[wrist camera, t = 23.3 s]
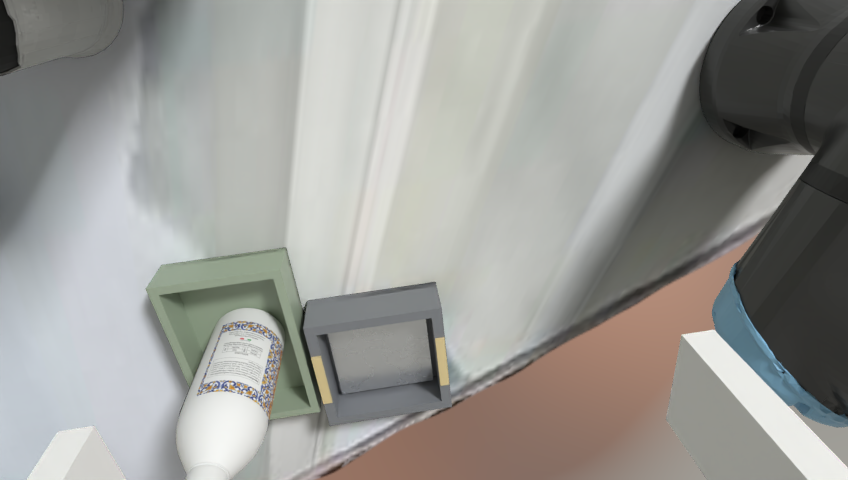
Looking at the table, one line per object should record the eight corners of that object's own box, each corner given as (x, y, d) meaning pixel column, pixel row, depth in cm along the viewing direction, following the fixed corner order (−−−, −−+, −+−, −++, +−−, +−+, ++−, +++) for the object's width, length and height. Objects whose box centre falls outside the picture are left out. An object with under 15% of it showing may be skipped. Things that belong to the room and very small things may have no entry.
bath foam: (256, 370, 54) (206, 565, 36) (200, 335, 51) (116, 529, 33) (300, 331, 52) (269, 517, 35) (244, 293, 49) (180, 474, 32)
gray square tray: (435, 282, 52) (441, 309, 47) (445, 376, 58) (452, 408, 54) (307, 300, 51) (302, 330, 47) (331, 394, 57) (329, 428, 53)
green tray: (285, 247, 48) (280, 269, 44) (322, 384, 56) (320, 411, 53) (161, 265, 47) (145, 288, 44) (217, 400, 56) (207, 429, 52)
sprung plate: (423, 301, 51) (424, 306, 51) (432, 374, 56) (433, 380, 56) (324, 316, 51) (324, 321, 50) (342, 388, 56) (342, 394, 55)
